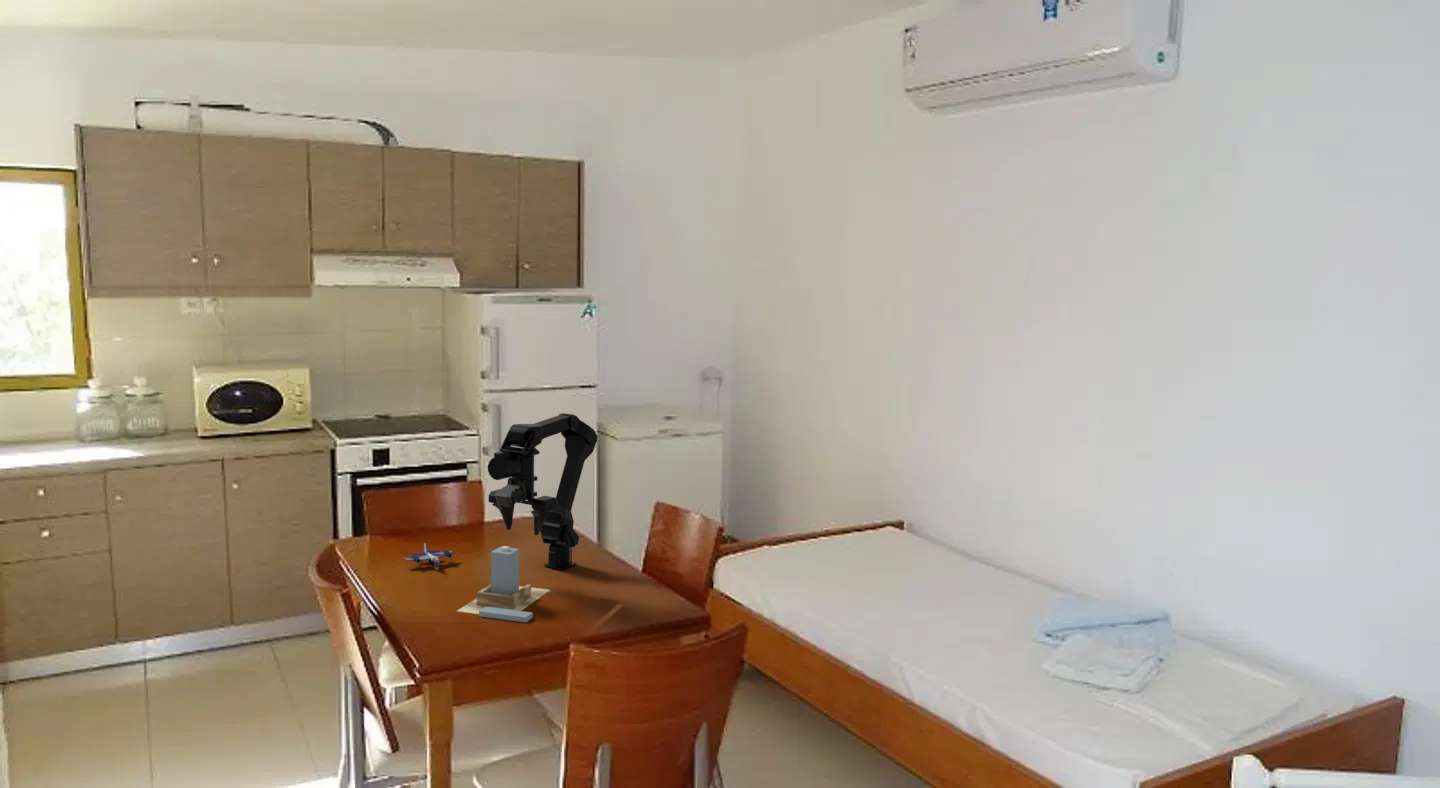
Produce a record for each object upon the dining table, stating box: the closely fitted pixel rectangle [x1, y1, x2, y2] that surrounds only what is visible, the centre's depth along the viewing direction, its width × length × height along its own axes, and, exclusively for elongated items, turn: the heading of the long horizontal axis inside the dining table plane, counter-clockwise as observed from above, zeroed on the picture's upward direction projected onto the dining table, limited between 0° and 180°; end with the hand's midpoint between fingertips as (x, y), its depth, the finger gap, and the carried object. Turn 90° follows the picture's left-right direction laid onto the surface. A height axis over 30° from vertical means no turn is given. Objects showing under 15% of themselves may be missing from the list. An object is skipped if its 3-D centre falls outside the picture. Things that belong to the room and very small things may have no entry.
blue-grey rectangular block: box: [490, 545, 520, 596], centre depth 251 cm, size 5×5×13 cm
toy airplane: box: [404, 542, 456, 571], centre depth 280 cm, size 13×14×4 cm
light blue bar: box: [478, 607, 534, 623], centre depth 240 cm, size 12×4×1 cm, turn 75°
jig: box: [456, 583, 551, 615], centre depth 252 cm, size 22×14×4 cm, turn 165°
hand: (522, 532), depth 268 cm, fingers open, 9 cm apart
